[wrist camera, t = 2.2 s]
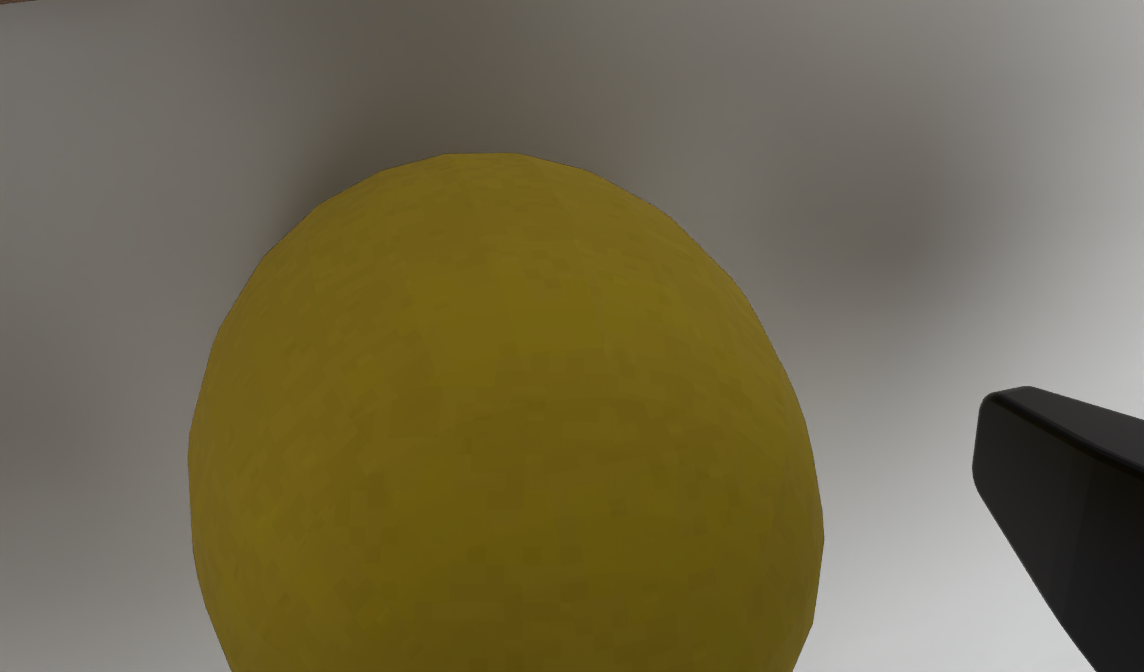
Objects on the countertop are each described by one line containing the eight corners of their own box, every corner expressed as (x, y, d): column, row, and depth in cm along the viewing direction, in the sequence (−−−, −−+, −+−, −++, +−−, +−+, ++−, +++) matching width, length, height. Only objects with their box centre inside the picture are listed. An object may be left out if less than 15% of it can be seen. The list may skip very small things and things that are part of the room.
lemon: (227, 475, 14) (154, 1154, 7) (213, 55, 11) (78, 438, 4) (621, 462, 15) (894, 1014, 8) (682, 87, 13) (1137, 416, 6)
